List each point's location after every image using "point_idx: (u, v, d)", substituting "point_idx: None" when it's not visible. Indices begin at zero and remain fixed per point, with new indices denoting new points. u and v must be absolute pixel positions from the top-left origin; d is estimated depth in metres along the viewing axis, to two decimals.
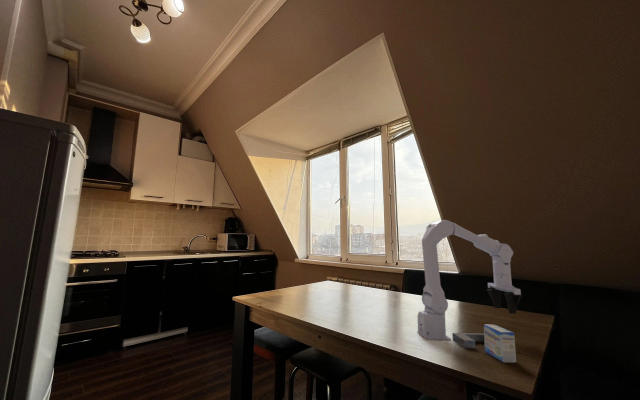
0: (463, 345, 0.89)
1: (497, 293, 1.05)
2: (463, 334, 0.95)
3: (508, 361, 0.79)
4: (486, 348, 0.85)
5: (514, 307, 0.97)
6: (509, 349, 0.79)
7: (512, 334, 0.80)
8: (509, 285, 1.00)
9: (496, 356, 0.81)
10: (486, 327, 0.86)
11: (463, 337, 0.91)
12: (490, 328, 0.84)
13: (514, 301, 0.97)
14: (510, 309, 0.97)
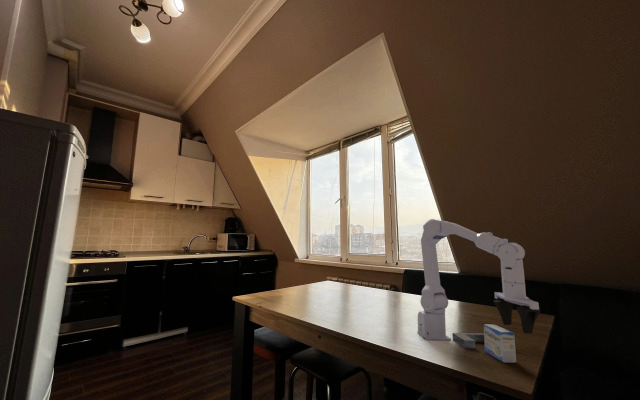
0: (463, 345, 0.89)
1: (507, 306, 0.83)
2: (463, 334, 0.95)
3: (508, 361, 0.79)
4: (486, 348, 0.85)
5: (530, 325, 0.75)
6: (509, 350, 0.79)
7: (512, 334, 0.80)
8: (523, 296, 0.78)
9: (496, 356, 0.81)
10: (486, 327, 0.86)
11: (463, 337, 0.91)
12: (490, 328, 0.84)
13: (530, 317, 0.75)
14: (525, 328, 0.75)
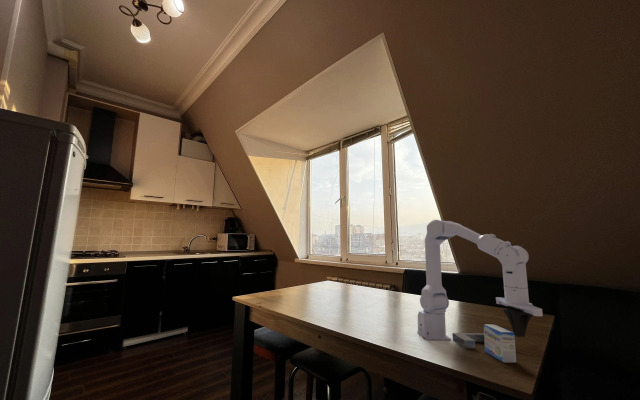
0: (463, 345, 0.89)
1: None
2: (463, 334, 0.95)
3: (508, 361, 0.79)
4: (486, 348, 0.85)
5: (523, 328, 0.75)
6: (509, 350, 0.79)
7: (512, 334, 0.80)
8: (526, 302, 0.74)
9: (496, 356, 0.81)
10: (486, 327, 0.86)
11: (463, 337, 0.91)
12: (490, 328, 0.84)
13: (523, 321, 0.75)
14: (517, 331, 0.75)
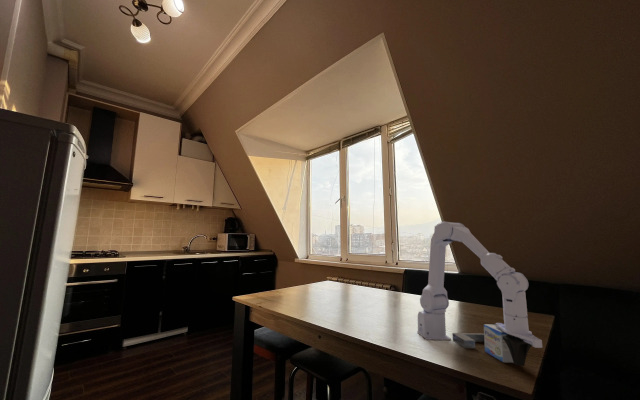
0: (463, 345, 0.89)
1: None
2: (463, 334, 0.95)
3: (508, 361, 0.79)
4: (486, 348, 0.85)
5: (522, 357, 0.75)
6: (509, 350, 0.79)
7: None
8: (525, 331, 0.74)
9: (496, 356, 0.81)
10: (486, 327, 0.86)
11: (463, 337, 0.91)
12: (490, 328, 0.84)
13: (522, 349, 0.75)
14: (517, 360, 0.74)
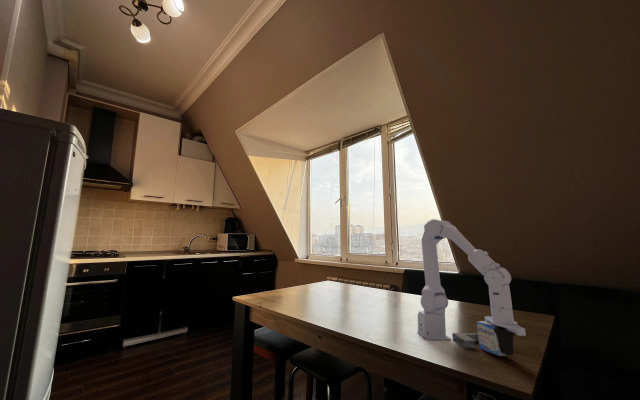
0: (463, 345, 0.89)
1: (508, 335, 0.81)
2: (463, 334, 0.95)
3: (503, 354, 0.81)
4: (481, 345, 0.88)
5: None
6: None
7: None
8: (511, 322, 0.80)
9: (491, 351, 0.83)
10: (479, 324, 0.89)
11: (463, 337, 0.91)
12: (483, 324, 0.87)
13: None
14: (502, 348, 0.81)
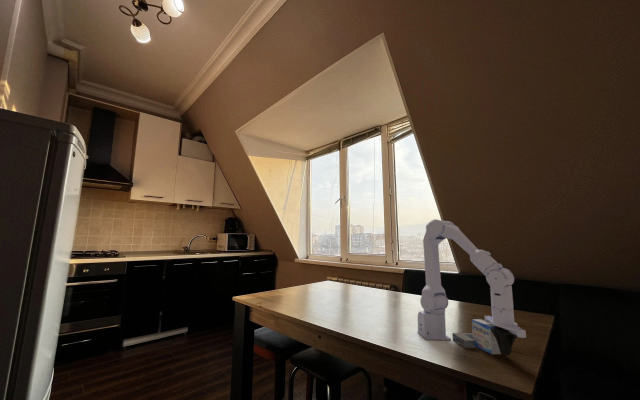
0: (463, 345, 0.89)
1: None
2: (463, 334, 0.95)
3: (496, 353, 0.84)
4: None
5: (508, 347, 0.80)
6: None
7: None
8: (511, 323, 0.79)
9: (485, 349, 0.86)
10: (474, 322, 0.91)
11: (463, 337, 0.91)
12: (479, 323, 0.89)
13: (508, 340, 0.80)
14: (503, 350, 0.80)
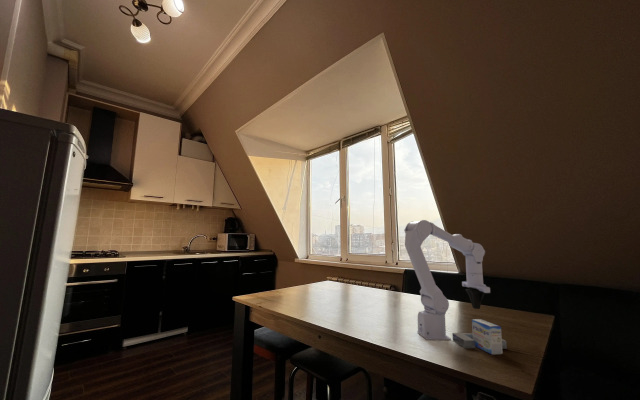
0: (463, 345, 0.89)
1: None
2: (463, 334, 0.95)
3: (496, 353, 0.84)
4: None
5: (478, 303, 1.03)
6: (497, 342, 0.85)
7: (499, 328, 0.86)
8: (480, 283, 1.02)
9: (485, 349, 0.86)
10: (474, 322, 0.91)
11: (463, 337, 0.91)
12: (479, 323, 0.89)
13: (478, 297, 1.03)
14: (474, 305, 1.03)
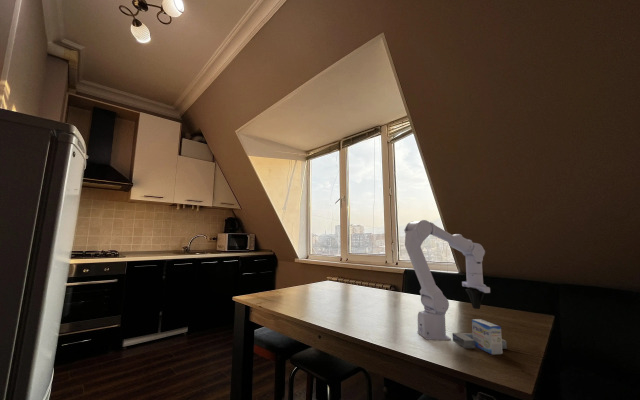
0: (463, 345, 0.89)
1: None
2: (463, 334, 0.95)
3: (496, 353, 0.84)
4: None
5: (478, 303, 1.03)
6: (497, 342, 0.85)
7: (499, 328, 0.86)
8: (480, 283, 1.02)
9: (485, 349, 0.86)
10: (474, 322, 0.91)
11: (463, 337, 0.91)
12: (479, 323, 0.89)
13: (478, 297, 1.03)
14: (474, 305, 1.03)
